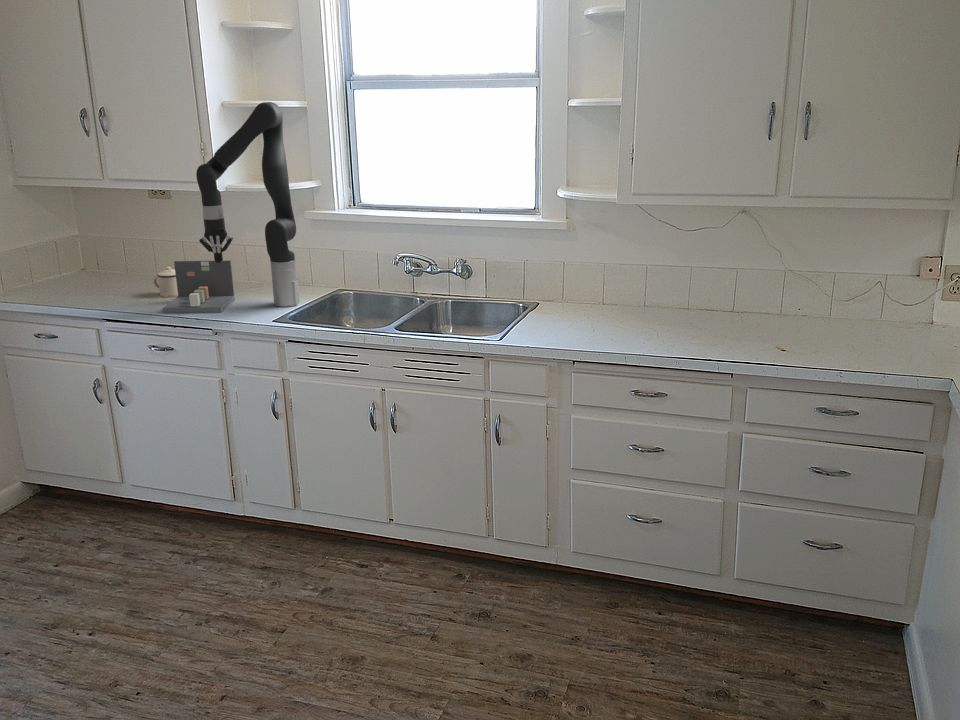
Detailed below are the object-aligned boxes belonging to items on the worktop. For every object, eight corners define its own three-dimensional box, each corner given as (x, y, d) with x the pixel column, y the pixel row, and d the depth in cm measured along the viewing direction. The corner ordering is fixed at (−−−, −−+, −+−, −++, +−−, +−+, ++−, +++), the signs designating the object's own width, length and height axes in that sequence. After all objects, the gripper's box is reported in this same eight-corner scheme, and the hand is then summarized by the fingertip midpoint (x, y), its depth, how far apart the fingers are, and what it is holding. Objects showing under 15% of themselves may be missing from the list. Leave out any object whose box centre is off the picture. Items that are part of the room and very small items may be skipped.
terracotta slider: (209, 297, 340) (207, 286, 339) (207, 299, 338) (205, 287, 336) (201, 297, 340) (200, 286, 339) (199, 299, 338) (198, 288, 336)
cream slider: (200, 304, 330) (199, 293, 328) (198, 306, 327) (197, 294, 326) (192, 304, 330) (191, 293, 328) (190, 306, 327) (189, 294, 326)
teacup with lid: (187, 292, 358) (184, 265, 355) (174, 298, 350) (171, 269, 346) (162, 291, 361) (158, 263, 358) (148, 296, 353) (145, 268, 350)
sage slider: (204, 301, 335) (203, 289, 333) (202, 302, 332) (201, 291, 331) (197, 301, 335) (195, 289, 333) (195, 302, 332) (193, 291, 331)
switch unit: (234, 300, 346) (230, 260, 341) (221, 312, 328) (216, 270, 323) (179, 300, 346) (174, 260, 341) (163, 313, 328) (157, 271, 323)
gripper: (233, 215, 332) (238, 260, 338) (199, 216, 332) (204, 261, 338) (228, 218, 325) (233, 263, 330) (193, 219, 325) (198, 264, 330)
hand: (218, 262), depth 334 cm, fingers closed
